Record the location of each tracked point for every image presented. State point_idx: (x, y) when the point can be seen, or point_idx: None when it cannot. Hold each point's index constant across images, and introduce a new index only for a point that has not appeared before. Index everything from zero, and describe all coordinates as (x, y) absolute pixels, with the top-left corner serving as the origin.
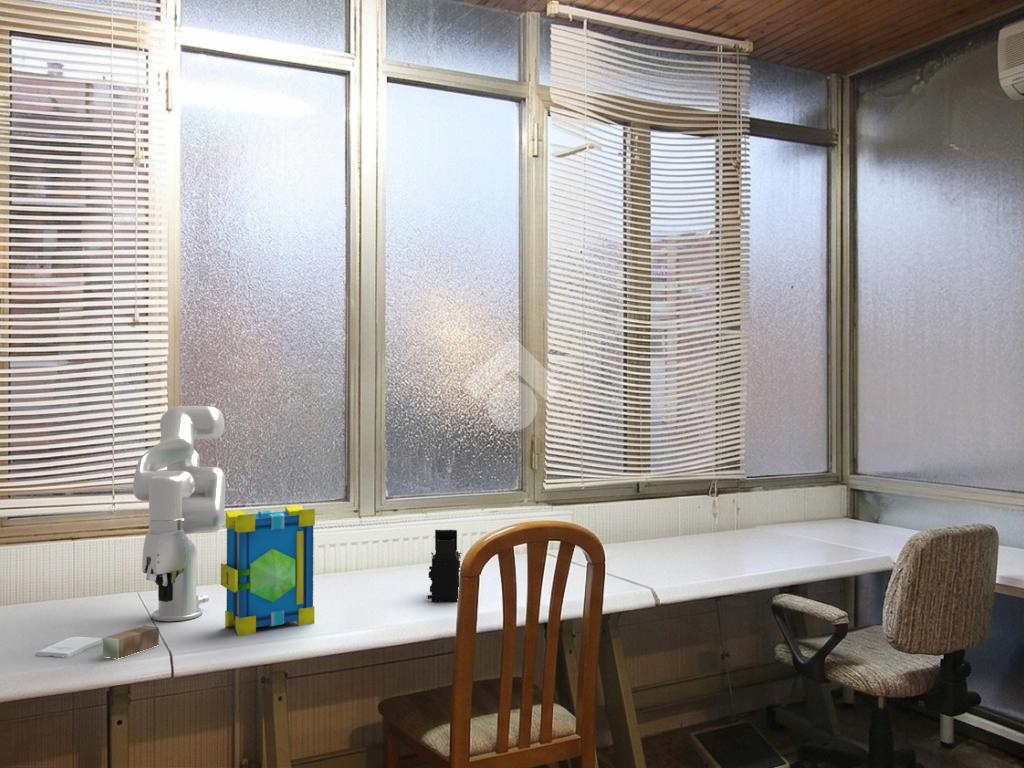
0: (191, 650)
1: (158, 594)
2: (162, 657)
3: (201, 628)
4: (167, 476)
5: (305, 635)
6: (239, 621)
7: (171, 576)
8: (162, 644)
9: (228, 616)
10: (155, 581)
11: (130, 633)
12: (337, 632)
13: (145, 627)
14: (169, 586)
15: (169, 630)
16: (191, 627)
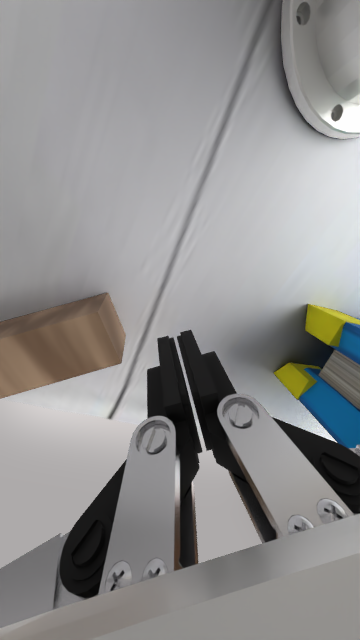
0: None
1: (147, 380)
2: (97, 406)
3: (279, 267)
4: None
5: (318, 427)
6: (293, 393)
7: (252, 519)
8: (138, 328)
9: (321, 338)
10: (106, 496)
11: (21, 370)
12: None
13: (86, 339)
14: (200, 450)
15: (222, 213)
16: (274, 235)
